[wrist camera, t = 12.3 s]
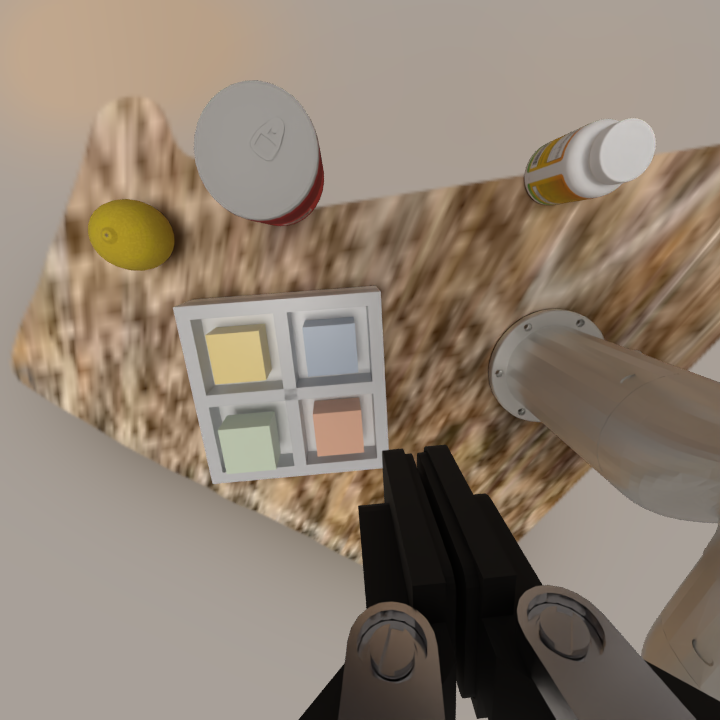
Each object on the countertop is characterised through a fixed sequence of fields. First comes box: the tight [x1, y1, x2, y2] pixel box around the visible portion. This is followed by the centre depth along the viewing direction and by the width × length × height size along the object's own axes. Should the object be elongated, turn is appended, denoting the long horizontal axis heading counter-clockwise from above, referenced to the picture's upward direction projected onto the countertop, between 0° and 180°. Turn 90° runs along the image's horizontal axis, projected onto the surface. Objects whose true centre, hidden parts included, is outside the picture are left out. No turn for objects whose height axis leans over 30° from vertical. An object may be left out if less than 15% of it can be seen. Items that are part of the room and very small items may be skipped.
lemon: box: [88, 199, 174, 271], centre depth 30 cm, size 6×6×8 cm
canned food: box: [194, 80, 324, 226], centre depth 28 cm, size 8×8×11 cm
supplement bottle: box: [525, 118, 656, 205], centre depth 30 cm, size 5×5×10 cm
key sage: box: [218, 411, 281, 474], centre depth 35 cm, size 5×5×3 cm
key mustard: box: [205, 324, 272, 384], centre depth 34 cm, size 5×5×3 cm
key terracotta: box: [313, 397, 364, 457], centre depth 37 cm, size 5×5×3 cm
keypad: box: [173, 286, 389, 484], centre depth 37 cm, size 18×18×4 cm
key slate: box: [302, 317, 358, 377], centre depth 35 cm, size 5×5×3 cm
